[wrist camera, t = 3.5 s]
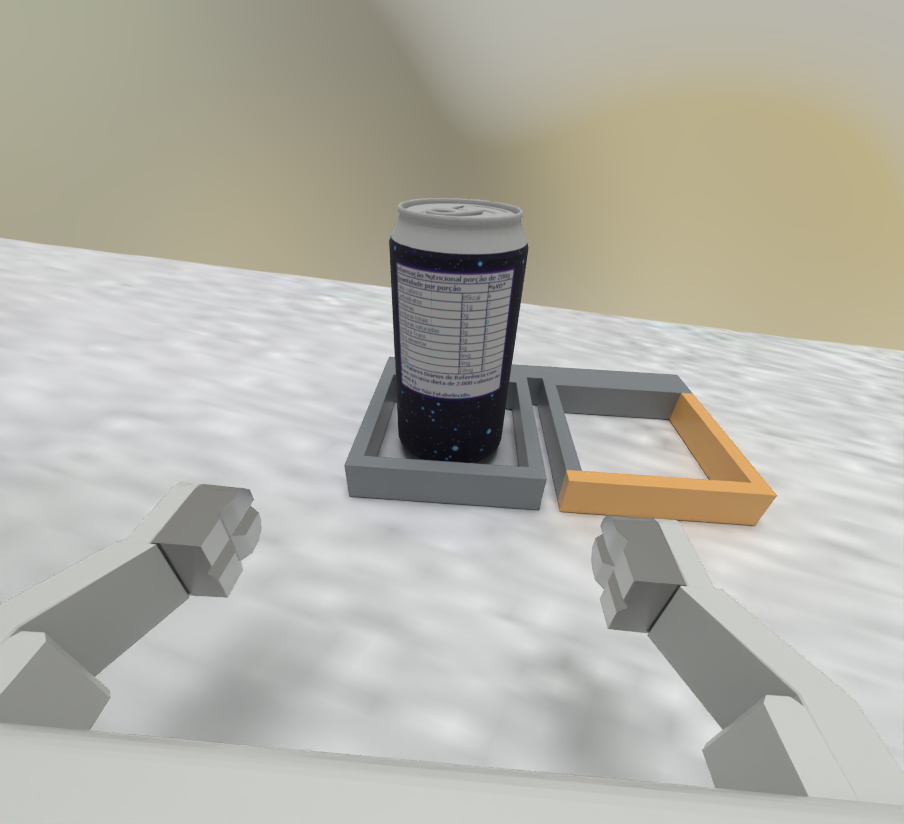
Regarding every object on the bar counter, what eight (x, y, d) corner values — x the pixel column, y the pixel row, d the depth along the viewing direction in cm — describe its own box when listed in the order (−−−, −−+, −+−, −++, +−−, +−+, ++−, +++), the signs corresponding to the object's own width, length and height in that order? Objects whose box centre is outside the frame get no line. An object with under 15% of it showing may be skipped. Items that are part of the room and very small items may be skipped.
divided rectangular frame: (349, 496, 19) (344, 465, 18) (390, 382, 27) (389, 356, 26) (754, 525, 18) (777, 495, 17) (666, 400, 27) (677, 374, 26)
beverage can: (520, 447, 22) (563, 211, 15) (444, 495, 19) (456, 225, 12) (453, 403, 26) (463, 194, 19) (379, 438, 22) (358, 201, 16)
